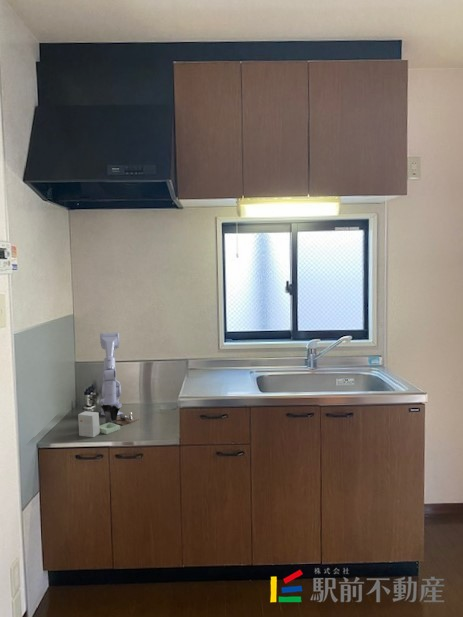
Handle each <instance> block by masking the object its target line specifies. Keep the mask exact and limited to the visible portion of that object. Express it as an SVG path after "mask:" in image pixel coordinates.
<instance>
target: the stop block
mask: <svg viewBox="0 0 463 617" xmlns="http://www.w3.org/2000/svg"><path fill="white" fill-rule="evenodd" d="M104 417H105V424H106V423H113V424H115V423H116V422H117V418H116V420H115V421H112V417H111V412H110V410H108V411H105V415H104Z"/></svg>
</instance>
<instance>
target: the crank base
mask: <svg viewBox="0 0 463 617" xmlns="http://www.w3.org/2000/svg"><path fill="white" fill-rule="evenodd" d="M132 418H134V420H132V421H131V420H128V419H120V416H117V422H116V423H114V424H116V425H120V426H125V425H129V424H131V423H134V422H137V421H139V420H140V419H139V418H137V417H133V416H132Z"/></svg>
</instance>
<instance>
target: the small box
mask: <svg viewBox="0 0 463 617" xmlns="http://www.w3.org/2000/svg"><path fill="white" fill-rule="evenodd" d="M77 417H78V418H77V420H78V421H77V422H78V436H80V437H88V438H94V437H95V438H96V436H98V435H100V434H101V433H100V428H99V426H100V416H99V412H96V411H86V410H84V411H83V412H80V413H78V414H77Z"/></svg>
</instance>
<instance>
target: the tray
mask: <svg viewBox="0 0 463 617" xmlns="http://www.w3.org/2000/svg"><path fill="white" fill-rule="evenodd" d="M99 428H100V434H104V435H109V434H112V433H115V432H118V431H120V430H121V425H119V424H115V423H106V422H105V423H103V424H99Z"/></svg>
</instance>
